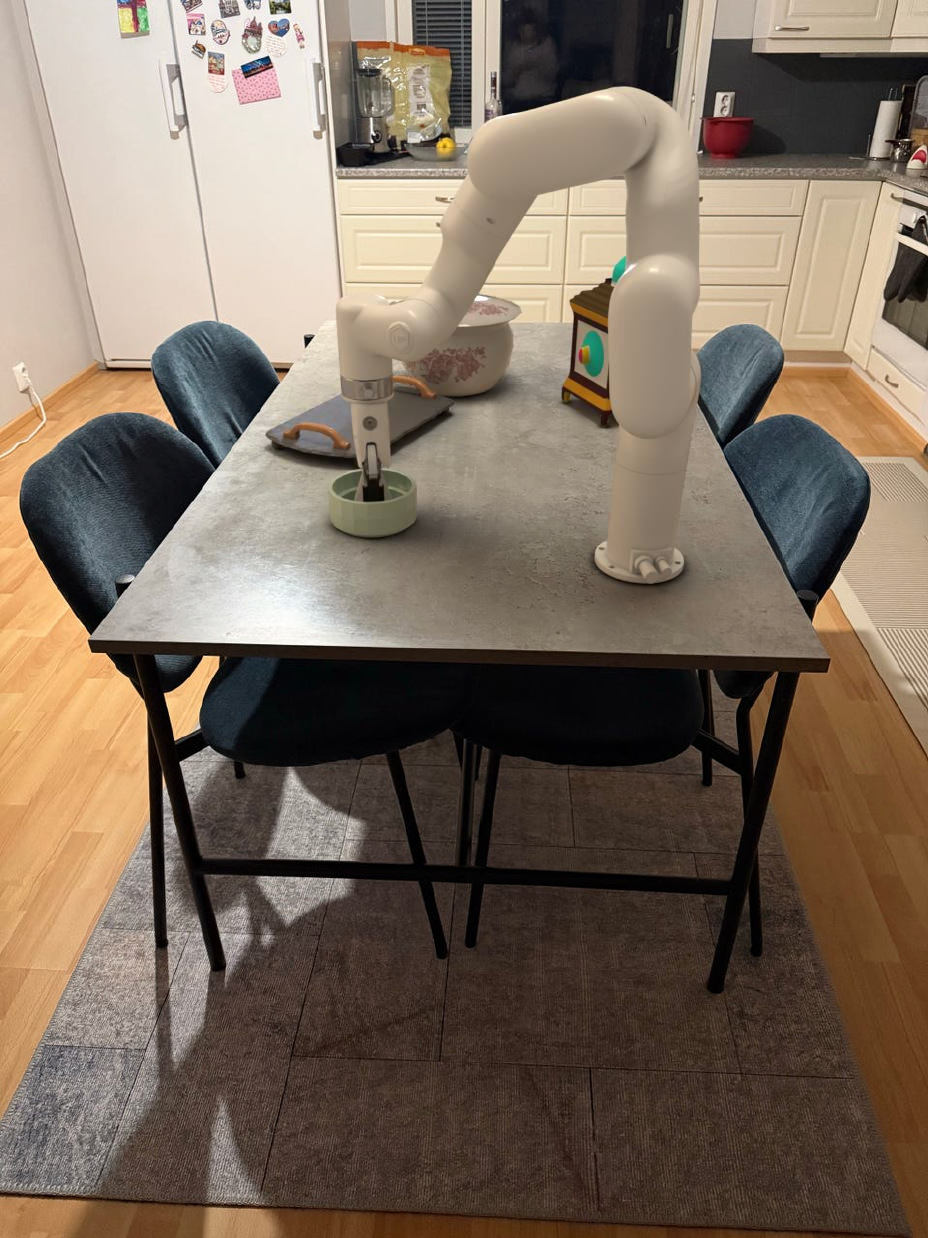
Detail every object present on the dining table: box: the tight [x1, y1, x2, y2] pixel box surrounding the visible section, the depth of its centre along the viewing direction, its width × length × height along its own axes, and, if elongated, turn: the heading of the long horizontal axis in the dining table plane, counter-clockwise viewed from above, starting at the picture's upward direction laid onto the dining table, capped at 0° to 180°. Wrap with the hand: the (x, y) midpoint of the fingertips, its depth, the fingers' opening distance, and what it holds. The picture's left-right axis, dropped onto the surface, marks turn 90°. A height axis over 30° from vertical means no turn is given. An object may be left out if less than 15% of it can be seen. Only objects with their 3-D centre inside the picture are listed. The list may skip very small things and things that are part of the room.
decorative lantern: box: [560, 255, 626, 428], centre depth 177 cm, size 20×20×30 cm
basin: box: [327, 467, 418, 538], centre depth 139 cm, size 13×13×6 cm
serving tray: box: [265, 375, 456, 469], centre depth 173 cm, size 39×23×6 cm, turn 152°
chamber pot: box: [388, 293, 522, 398], centre depth 191 cm, size 28×28×21 cm
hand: (373, 500), depth 139 cm, fingers closed on flask, 4 cm apart
